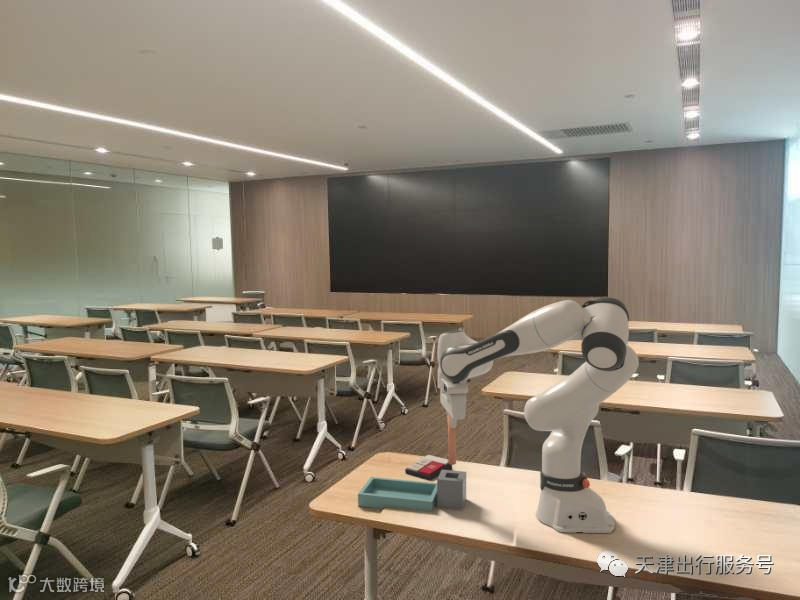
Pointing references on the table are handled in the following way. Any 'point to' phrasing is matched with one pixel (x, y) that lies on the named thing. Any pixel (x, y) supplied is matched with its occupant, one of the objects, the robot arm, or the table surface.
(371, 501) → the tray
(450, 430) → the dowel pin
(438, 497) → the grey pencil holder
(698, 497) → the table surface
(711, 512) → the table surface
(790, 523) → the table surface
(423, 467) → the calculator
